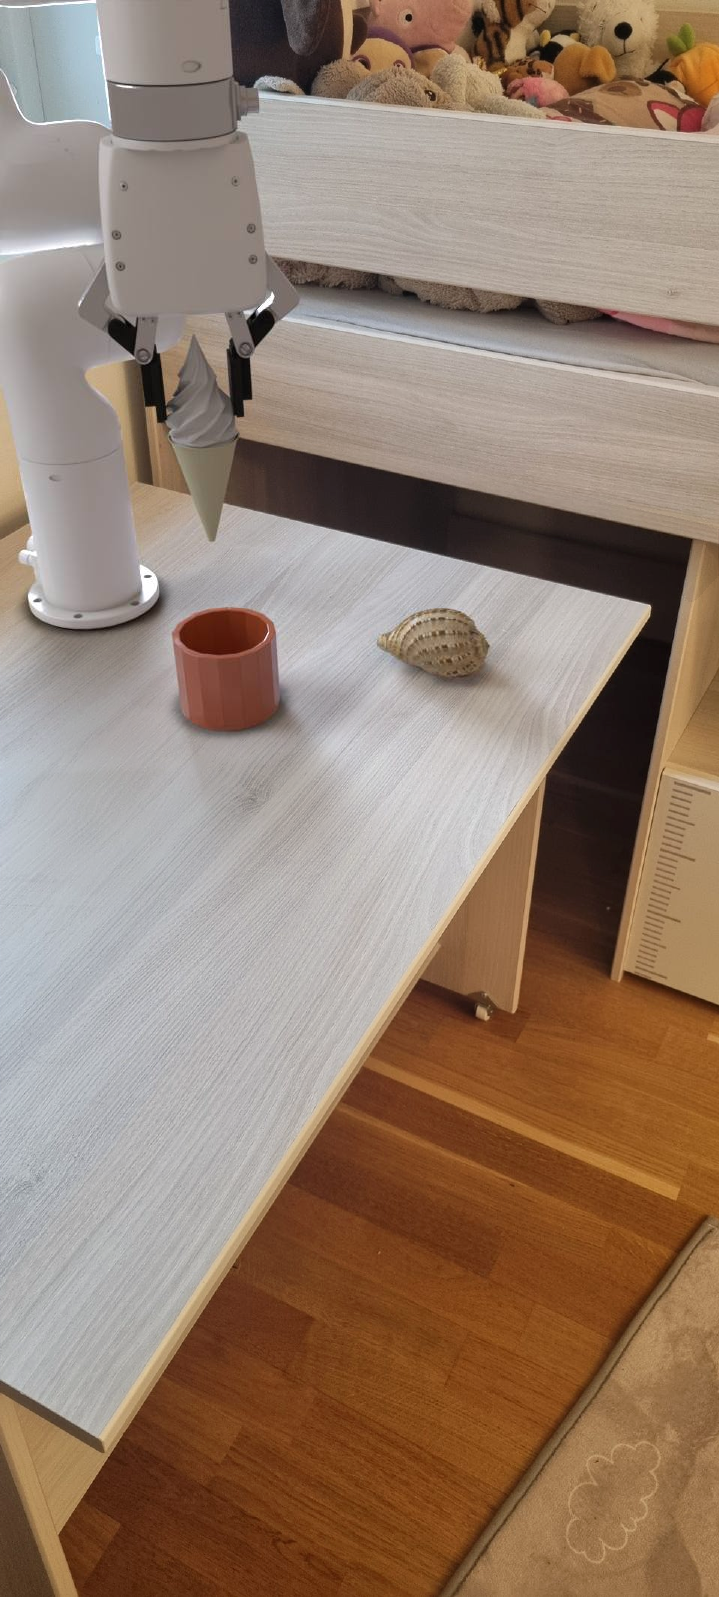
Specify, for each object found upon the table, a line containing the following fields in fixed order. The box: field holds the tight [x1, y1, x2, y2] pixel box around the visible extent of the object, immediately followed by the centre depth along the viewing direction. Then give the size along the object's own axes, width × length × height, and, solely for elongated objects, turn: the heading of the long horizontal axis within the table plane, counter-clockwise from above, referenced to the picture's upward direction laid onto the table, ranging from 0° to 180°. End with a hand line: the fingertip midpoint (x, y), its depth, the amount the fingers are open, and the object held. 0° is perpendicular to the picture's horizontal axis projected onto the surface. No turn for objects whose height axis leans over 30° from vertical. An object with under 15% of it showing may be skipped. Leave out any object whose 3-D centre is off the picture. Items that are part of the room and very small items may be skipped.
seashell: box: [376, 607, 491, 679], centre depth 106 cm, size 8×6×10 cm
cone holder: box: [171, 606, 281, 732], centre depth 100 cm, size 8×8×7 cm
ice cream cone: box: [165, 333, 241, 543], centre depth 84 cm, size 5×5×15 cm
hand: (199, 410), depth 83 cm, fingers closed on ice cream cone, 4 cm apart
